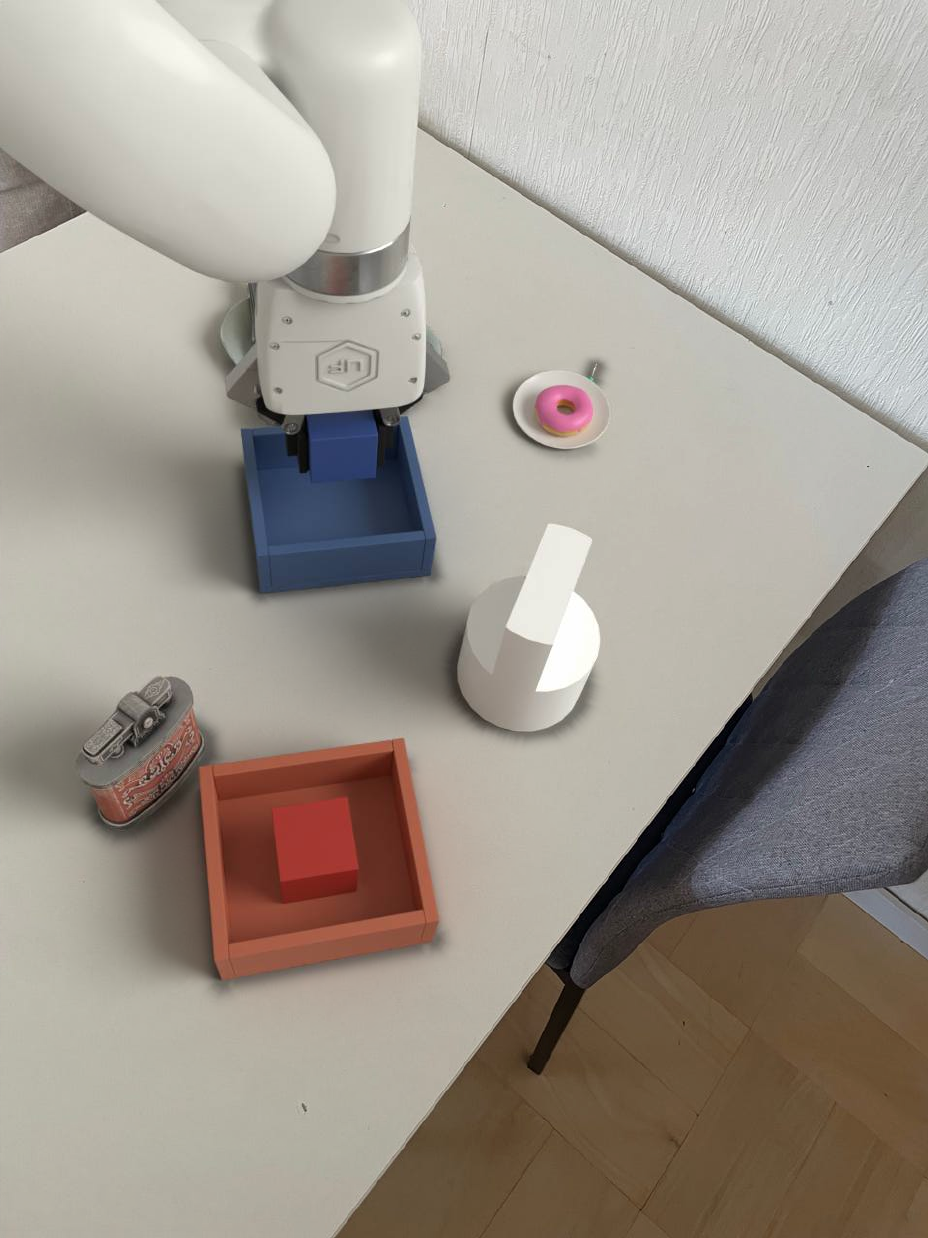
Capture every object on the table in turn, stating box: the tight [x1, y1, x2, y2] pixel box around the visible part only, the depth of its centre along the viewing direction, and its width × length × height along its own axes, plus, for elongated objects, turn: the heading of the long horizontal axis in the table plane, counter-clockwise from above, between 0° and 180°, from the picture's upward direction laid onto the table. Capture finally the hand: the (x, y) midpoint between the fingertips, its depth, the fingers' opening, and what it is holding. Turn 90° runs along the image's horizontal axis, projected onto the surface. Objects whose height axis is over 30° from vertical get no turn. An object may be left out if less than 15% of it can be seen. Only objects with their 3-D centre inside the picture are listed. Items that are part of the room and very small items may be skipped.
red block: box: [271, 797, 359, 904], centre depth 61 cm, size 4×4×4 cm
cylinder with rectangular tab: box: [456, 523, 601, 733], centre depth 68 cm, size 9×9×12 cm
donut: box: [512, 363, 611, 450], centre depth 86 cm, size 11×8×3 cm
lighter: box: [75, 675, 206, 832], centre depth 61 cm, size 8×3×10 cm, turn 145°
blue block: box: [305, 409, 378, 484], centre depth 70 cm, size 4×4×4 cm
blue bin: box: [240, 415, 437, 595], centre depth 76 cm, size 13×12×5 cm
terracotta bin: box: [198, 737, 440, 981], centre depth 62 cm, size 13×12×5 cm
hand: (339, 452), depth 71 cm, fingers closed on blue block, 4 cm apart
